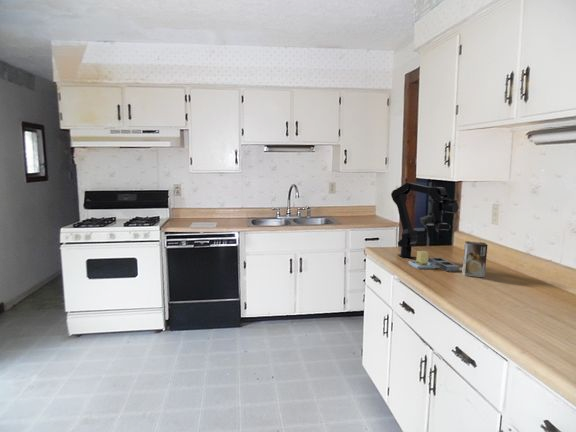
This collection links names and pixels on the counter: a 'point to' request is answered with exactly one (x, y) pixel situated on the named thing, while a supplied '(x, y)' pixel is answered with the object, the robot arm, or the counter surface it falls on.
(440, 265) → the plate with rectangular hole
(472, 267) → the coffee box
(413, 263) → the tray
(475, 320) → the counter surface
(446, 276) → the counter surface
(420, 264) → the brushed brass block
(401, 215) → the robot arm
